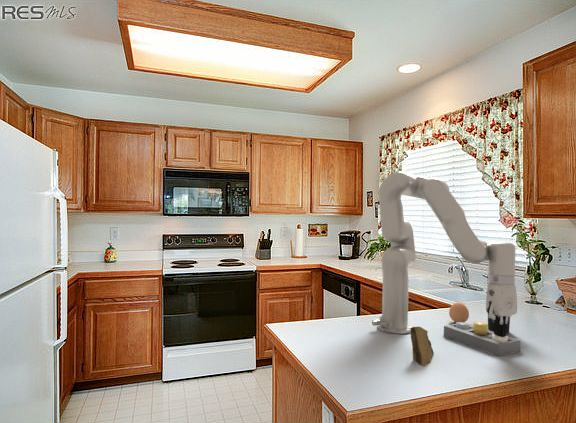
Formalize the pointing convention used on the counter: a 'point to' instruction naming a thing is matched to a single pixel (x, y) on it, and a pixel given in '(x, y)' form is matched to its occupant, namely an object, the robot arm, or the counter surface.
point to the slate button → (462, 325)
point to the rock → (421, 346)
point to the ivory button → (500, 338)
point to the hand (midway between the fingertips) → (500, 335)
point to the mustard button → (480, 328)
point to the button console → (482, 340)
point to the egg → (459, 312)
